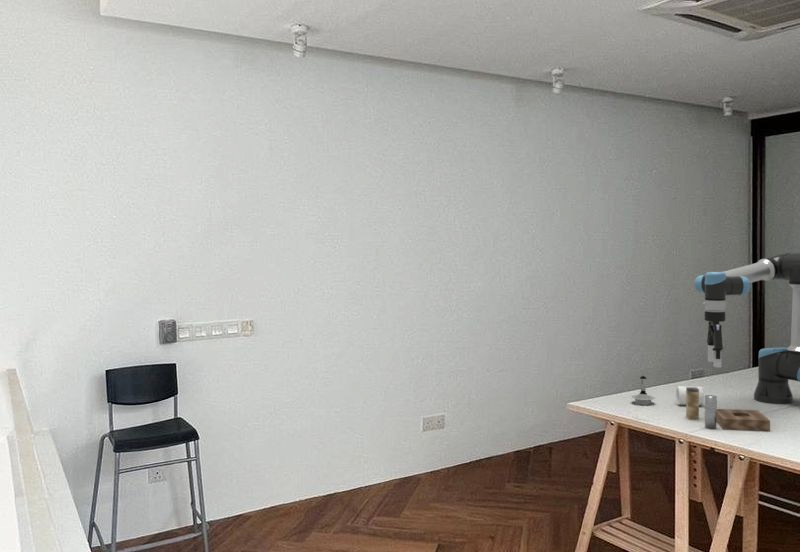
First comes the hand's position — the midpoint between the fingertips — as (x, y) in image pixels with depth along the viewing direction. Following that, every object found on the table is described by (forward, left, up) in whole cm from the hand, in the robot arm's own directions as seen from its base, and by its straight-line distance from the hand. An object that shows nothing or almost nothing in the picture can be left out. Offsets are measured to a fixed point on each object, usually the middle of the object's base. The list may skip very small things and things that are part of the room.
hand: (714, 364), depth 277 cm
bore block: (-8, +9, -22) cm, 25 cm away
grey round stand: (+24, -23, -22) cm, 40 cm away
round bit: (+4, +15, -22) cm, 27 cm away
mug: (+5, -25, -22) cm, 33 cm away
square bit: (+8, +1, -22) cm, 23 cm away
